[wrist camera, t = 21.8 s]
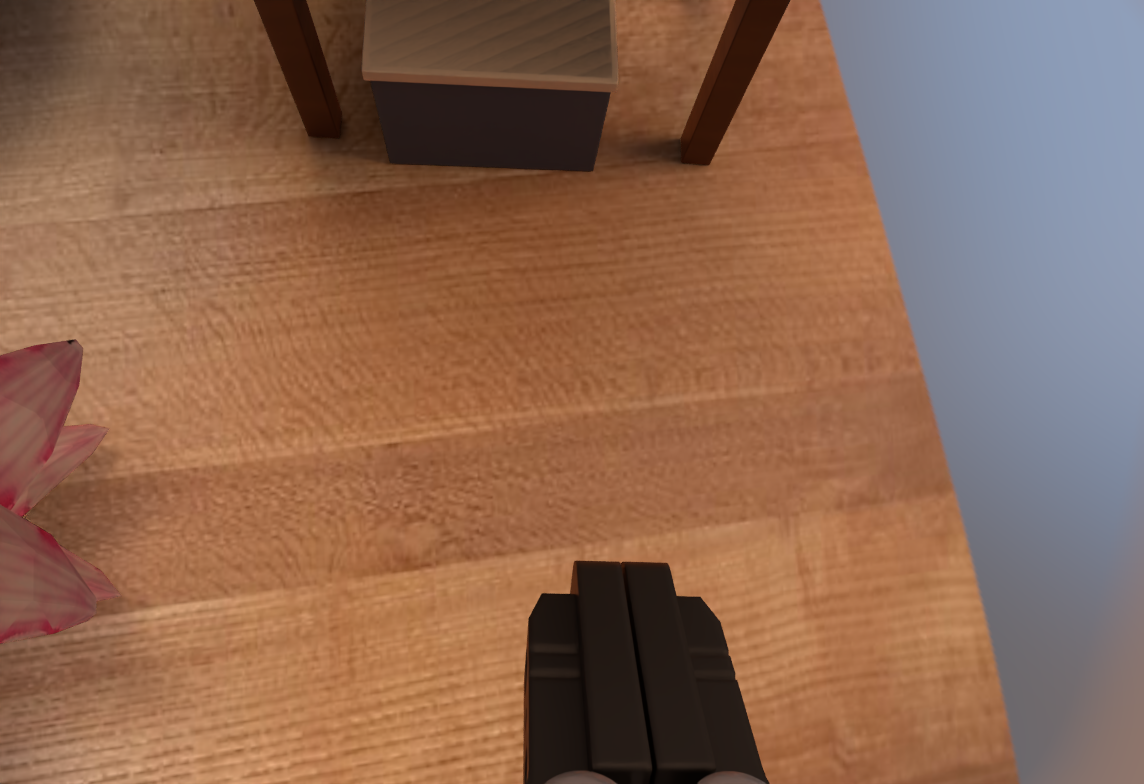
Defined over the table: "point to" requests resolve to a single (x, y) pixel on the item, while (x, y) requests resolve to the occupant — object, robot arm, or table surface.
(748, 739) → the robot arm
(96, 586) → the decorative flower
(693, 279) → the table surface
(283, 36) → the drawer unit
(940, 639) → the table surface
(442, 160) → the storage box
